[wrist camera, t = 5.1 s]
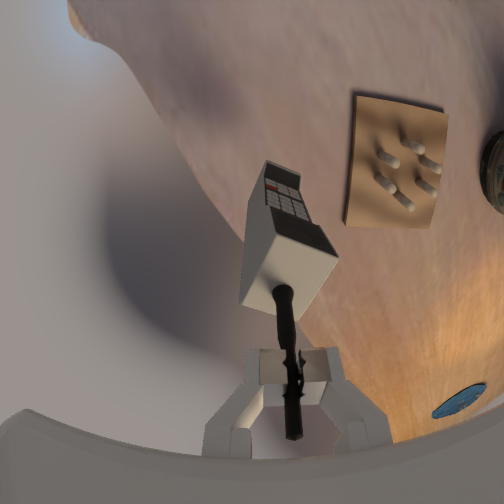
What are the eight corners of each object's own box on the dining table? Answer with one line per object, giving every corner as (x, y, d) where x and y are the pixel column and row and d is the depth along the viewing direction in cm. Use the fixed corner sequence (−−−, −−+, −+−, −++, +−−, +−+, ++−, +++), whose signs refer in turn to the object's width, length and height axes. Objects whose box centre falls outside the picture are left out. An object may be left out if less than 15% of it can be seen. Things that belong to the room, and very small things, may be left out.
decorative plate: (442, 418, 97) (444, 426, 93) (421, 412, 88) (424, 422, 84) (490, 387, 84) (493, 395, 79) (479, 376, 74) (483, 386, 70)
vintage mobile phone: (299, 172, 28) (395, 404, 7) (280, 213, 31) (311, 457, 9) (266, 158, 28) (287, 392, 6) (248, 200, 30) (225, 449, 9)
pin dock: (354, 95, 33) (370, 96, 27) (444, 113, 32) (467, 119, 27) (343, 223, 43) (354, 242, 38) (425, 225, 43) (442, 243, 38)
